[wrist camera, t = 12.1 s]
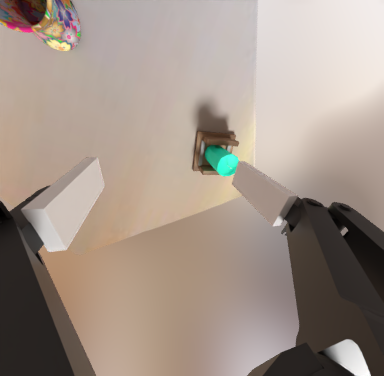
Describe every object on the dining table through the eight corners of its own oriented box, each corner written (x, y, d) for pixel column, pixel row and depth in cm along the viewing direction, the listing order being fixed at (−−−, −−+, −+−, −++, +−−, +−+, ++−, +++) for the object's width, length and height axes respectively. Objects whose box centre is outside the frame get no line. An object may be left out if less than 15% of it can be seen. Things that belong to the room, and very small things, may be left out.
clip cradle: (197, 131, 40) (203, 135, 35) (234, 134, 43) (244, 138, 38) (192, 169, 46) (197, 177, 41) (225, 170, 49) (233, 177, 44)
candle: (226, 152, 44) (246, 166, 34) (212, 166, 46) (228, 183, 36) (214, 139, 41) (234, 151, 31) (200, 154, 42) (214, 170, 33)
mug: (62, -29, 22) (1, -117, 13) (96, 49, 27) (68, 24, 18) (-18, -17, 21) (-142, -102, 12) (32, 63, 26) (-29, 42, 17)
